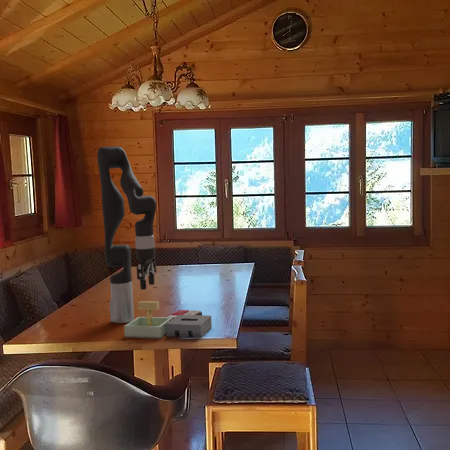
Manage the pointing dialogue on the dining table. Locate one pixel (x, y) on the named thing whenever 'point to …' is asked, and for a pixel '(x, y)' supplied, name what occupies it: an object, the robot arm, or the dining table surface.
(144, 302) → the t key
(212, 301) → the dining table surface
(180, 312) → the calculator
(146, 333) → the tray
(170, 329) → the lock block
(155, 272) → the robot arm
